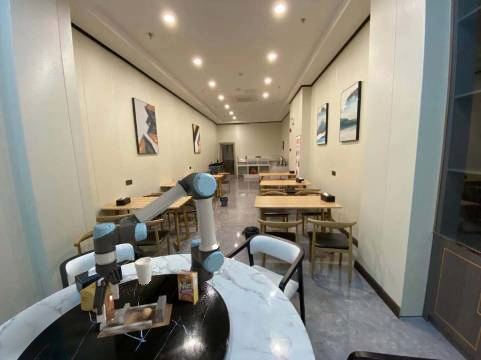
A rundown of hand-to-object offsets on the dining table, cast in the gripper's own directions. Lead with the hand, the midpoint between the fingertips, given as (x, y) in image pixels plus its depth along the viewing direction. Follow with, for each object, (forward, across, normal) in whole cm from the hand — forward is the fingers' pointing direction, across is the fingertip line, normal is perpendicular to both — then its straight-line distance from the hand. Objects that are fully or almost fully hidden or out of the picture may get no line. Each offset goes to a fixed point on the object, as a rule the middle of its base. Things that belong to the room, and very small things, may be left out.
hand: (108, 309), depth 84 cm
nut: (+7, 0, +15) cm, 16 cm away
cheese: (+9, -18, -12) cm, 23 cm away
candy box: (+8, -9, +32) cm, 34 cm away
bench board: (+8, 0, +11) cm, 14 cm away
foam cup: (+8, -33, +6) cm, 34 cm away
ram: (+6, 0, +2) cm, 7 cm away
